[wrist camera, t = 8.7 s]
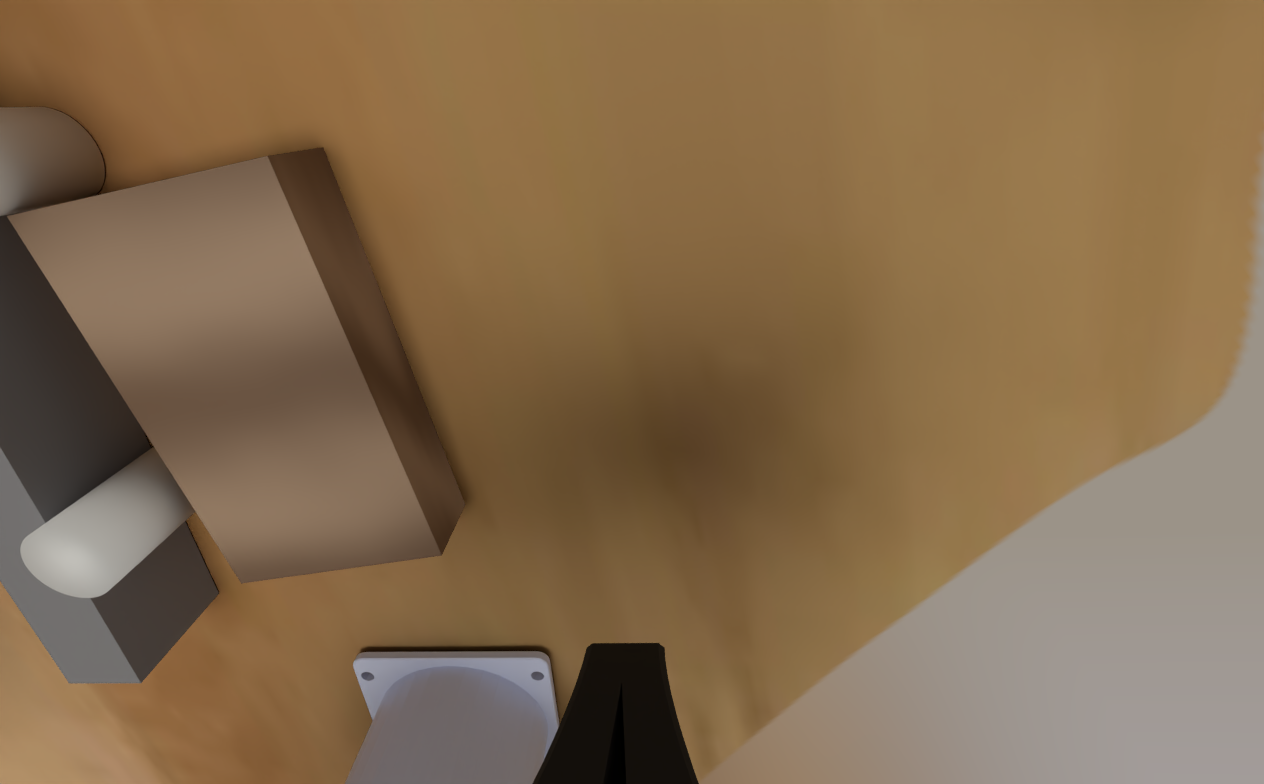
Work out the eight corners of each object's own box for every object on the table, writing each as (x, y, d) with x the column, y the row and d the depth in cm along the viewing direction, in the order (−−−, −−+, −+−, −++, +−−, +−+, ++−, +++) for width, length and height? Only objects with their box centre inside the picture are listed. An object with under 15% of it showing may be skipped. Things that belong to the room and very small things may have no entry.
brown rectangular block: (468, 498, 22) (441, 555, 19) (290, 524, 22) (241, 583, 20) (330, 146, 17) (267, 156, 14) (107, 197, 17) (6, 216, 15)
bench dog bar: (279, 592, 23) (191, 711, 19) (157, 594, 24) (41, 710, 19) (-14, -129, 14) (-339, -237, 9) (-216, -115, 14) (-629, -214, 9)
